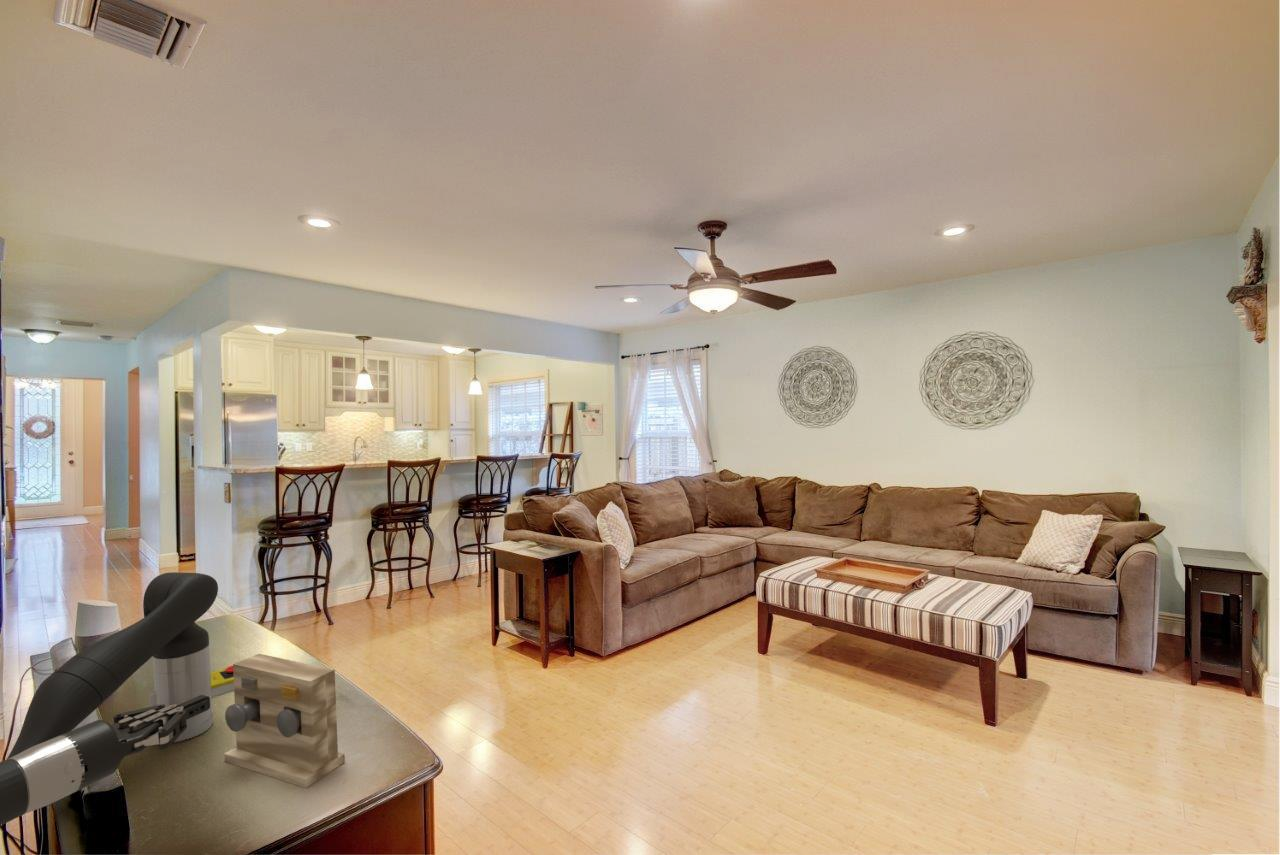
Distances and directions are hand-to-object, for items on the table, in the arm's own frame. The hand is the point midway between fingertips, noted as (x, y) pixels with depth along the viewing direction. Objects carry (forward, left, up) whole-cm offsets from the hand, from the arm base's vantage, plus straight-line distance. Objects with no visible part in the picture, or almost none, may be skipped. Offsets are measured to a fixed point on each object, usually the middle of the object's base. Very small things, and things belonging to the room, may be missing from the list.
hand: (207, 701), depth 91 cm
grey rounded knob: (+7, +14, -13) cm, 20 cm away
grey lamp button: (-4, +17, -13) cm, 22 cm away
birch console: (+3, +17, -21) cm, 27 cm away
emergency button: (-26, +54, -21) cm, 63 cm away
